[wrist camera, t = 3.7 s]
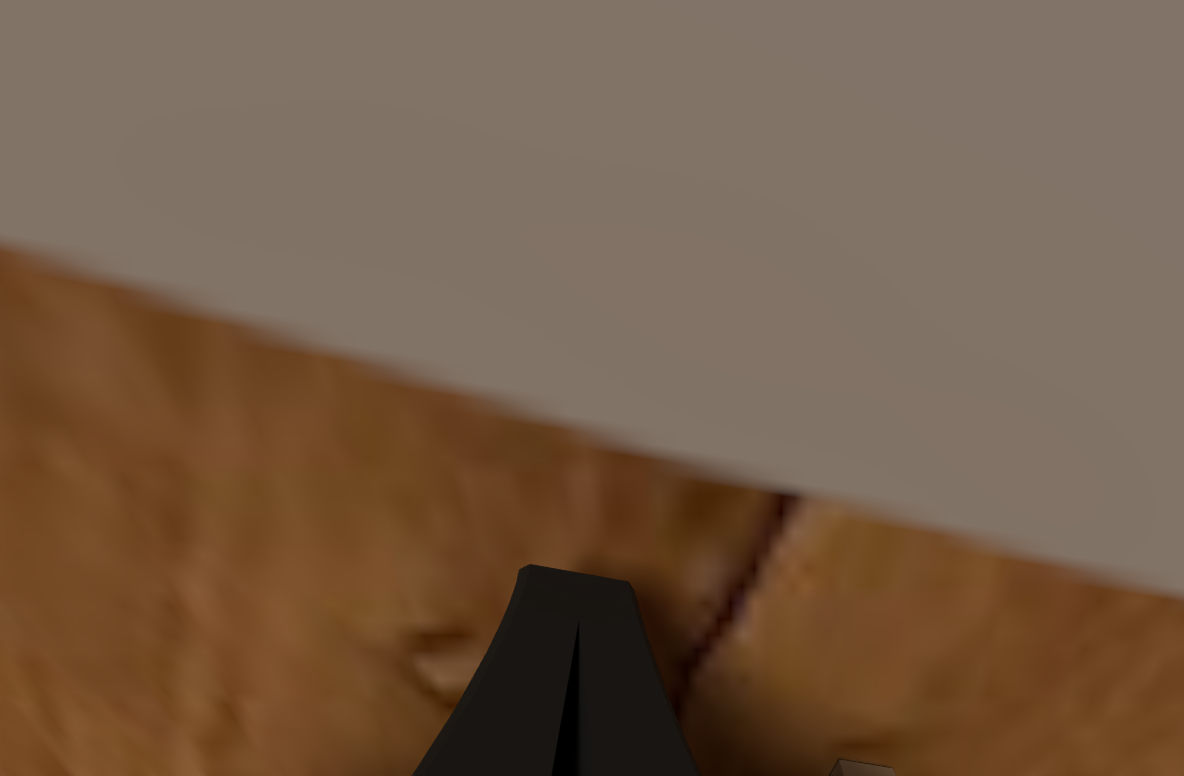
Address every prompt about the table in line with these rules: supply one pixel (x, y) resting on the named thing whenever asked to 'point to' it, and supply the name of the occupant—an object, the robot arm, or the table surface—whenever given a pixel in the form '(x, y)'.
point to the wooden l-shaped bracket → (860, 769)
